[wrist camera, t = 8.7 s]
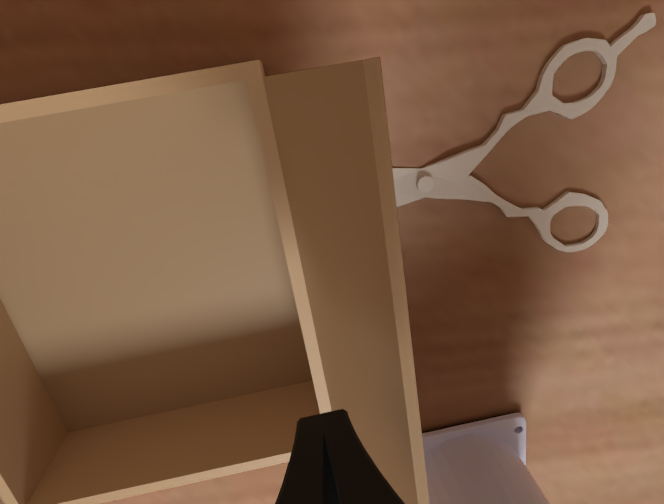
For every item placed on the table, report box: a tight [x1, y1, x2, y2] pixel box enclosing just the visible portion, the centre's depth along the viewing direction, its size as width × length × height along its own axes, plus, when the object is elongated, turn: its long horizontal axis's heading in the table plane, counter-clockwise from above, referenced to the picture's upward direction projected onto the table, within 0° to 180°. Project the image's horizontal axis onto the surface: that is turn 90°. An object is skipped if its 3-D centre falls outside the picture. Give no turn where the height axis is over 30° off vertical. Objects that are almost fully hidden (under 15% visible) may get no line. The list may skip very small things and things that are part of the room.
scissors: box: [392, 12, 656, 252], centre depth 21 cm, size 11×1×20 cm
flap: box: [263, 57, 429, 504], centre depth 14 cm, size 15×6×1 cm
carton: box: [0, 60, 332, 504], centre depth 19 cm, size 16×14×5 cm
